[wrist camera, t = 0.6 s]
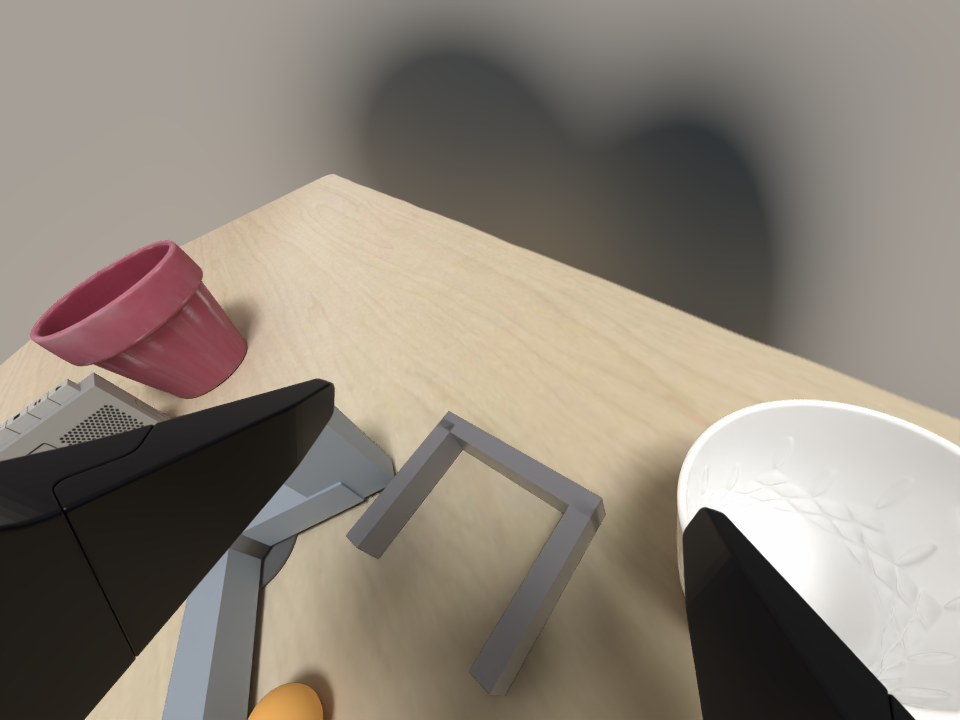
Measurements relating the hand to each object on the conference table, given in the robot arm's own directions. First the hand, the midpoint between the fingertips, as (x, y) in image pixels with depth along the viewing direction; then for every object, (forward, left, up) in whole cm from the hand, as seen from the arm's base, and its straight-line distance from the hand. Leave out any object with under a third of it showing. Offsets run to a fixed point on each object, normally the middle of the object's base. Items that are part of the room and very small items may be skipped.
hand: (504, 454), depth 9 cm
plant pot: (+13, +44, -15) cm, 48 cm away
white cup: (+1, -8, -15) cm, 17 cm away
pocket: (+1, +6, -15) cm, 16 cm away
